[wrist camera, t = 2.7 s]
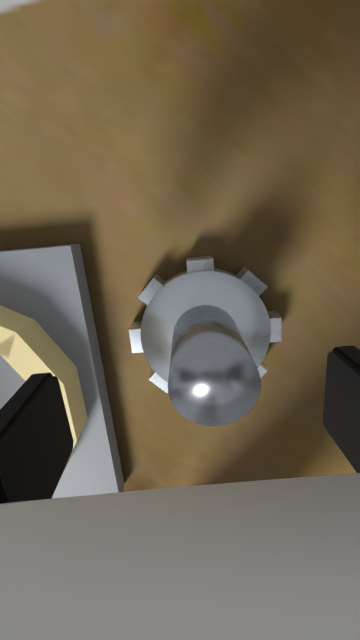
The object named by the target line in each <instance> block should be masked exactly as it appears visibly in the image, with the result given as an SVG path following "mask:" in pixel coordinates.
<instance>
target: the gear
mask: <svg viewBox="0 0 360 640" xmlns="http://www.w3.org/2000/svg"><path fill="white" fill-rule="evenodd" d="M186 262H187V270H185V271H182V272H180V273H177V274H175V275H174V276H172V277H170V278H169V279H167V280H166V281H165V280H163V279H162V278H161V277H160V276H159V275H157V274H156V275H155V276H154V277H153V278H152V279H151V281H150V282H149V283H148V284H147V286H146V287H145V288H144V289H143V291H142V292H141V293H140V295H139V297H138V298H139V299H140V300H141V301H142V302H144V303H145V304H146V305H147V308H146V310H145V313H144V315H143V318H142V321H138V322H133V323H132V325H131V327H130V329H129V334H130V341H131V347H132V353H138V352H144V355H145V357H146V359H147V361H148V363H149V364H150V366H151V367H152V368H151V372H150V377H149V380H150V381H151V382H153V383H154V384H155V385H157V386H158V387H160V388H161V389H162V390H164V391H165V392H166V393H169V397H170V400H171V402H172V404H173V406H174V407H175V408H176V410H177V411H178V412H179V413H180V414H181V415H182V416H184V417H185V418H187V419H188V420H190V421H192V422H194V423H197V424H201V425H206V426H220V425H225V424H229V423H232V422H234V421H236V420H238V419H240V418H242V417H243V416H244V415H246V414H247V413H248V412H249V411H250V410H251V409H252V407H253V406H254V405H255V403H256V401H257V399H258V397H259V394H260V389H261V379H260V378H261V377H262V376H263V375H264V374H265V373H266V372H267V371H268V370H267V368H266V367H265V365H264V363H263V359H264V357H265V355H266V353H267V350H268V347H269V343H270V342H281V317H280V316H279V315H278V314H277V313H276V312H275V311H267V310H266V307H265V305H264V304H263V302H262V300H261V299H260V297H259V296H260V295H261V294H262V293H263V292H264V290H265V289H266V288H267V286H266V285H265V284H264V283H263V282H262V281H261V280H259V279H258V278H257V277H256V276H255V275H254V274H253V273H252V272H250V271H249V270H248V269H247V268H246V267H244V266H243V267H242V268H241V270H240V271H239V272H238V273H237V274H236V275H234V274H233V273H231V272H228V271H225V270H222V269H218V268H214V259H213V257H212V256H201V257H189V258H186Z"/></svg>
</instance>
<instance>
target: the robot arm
mask: <svg viewBox="0 0 360 640" xmlns="http://www.w3.org/2000/svg"><path fill="white" fill-rule="evenodd" d="M323 421H324V425H325V428H326V429H327V431H328V432H329V434H330V435H331V437H332V438H333V439H334V441H335V442H336V444H337V445H338V447H339V448H340V449H341V451H342V452H343V454H344V455H345V456H346V458H347V459H348V461H349V462H350V464H351V465H352V466H353V468H354V469H355V471H356V472H357V473H350V474H337V475H324V476H310V477H297V478H284V479H272V480H259V481H246V482H234V483H222V484H210V485H198V486H186V487H175V488H163V489H151V490H140V491H129V492H118V493H107V494H96V495H85V496H74V497H63V498H52V497H53V494H54V492H55V490H56V487H57V485H58V483H59V481H60V478H61V476H62V474H63V471H64V469H65V467H66V464H67V462H68V460H69V457H70V455H71V453H72V450H73V437H72V433H71V429H70V425H69V421H68V417H67V413H66V408H65V404H64V400H63V396H62V392H61V388H60V384H59V380H58V378H57V377H56V376H53V375H52V374H51V373H50V372H49V373H37V374H32V375H31V376H30V377H29V378H28V379H27V380H26V381H25V382H24V384H23V385H22V386H21V387H20V388H19V389H18V390H17V391H16V393H15V394H14V395H13V396H12V397H11V398H10V399H9V400H8V402H7V403H6V404H5V405H4V406H3V407H2V408H1V409H0V640H360V350H359V349H358V348H356V347H355V346H342V347H335V348H334V349H333V351H332V352H329V354H328V359H327V373H326V386H325V400H324V414H323Z"/></svg>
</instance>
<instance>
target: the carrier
mask: <svg viewBox="0 0 360 640" xmlns="http://www.w3.org/2000/svg"><path fill="white" fill-rule="evenodd" d="M49 372H50V373H51V374H52V375H53V376H56V377H57V378H58V380H59V384H60V388H61V392H62V396H63V400H64V404H65V408H66V413H67V417H68V421H69V425H70V429H71V433H72V437H73V450H72V453H71V455H70V457H69V460H68V462H67V464H66V467H65V469H64V471H63V474H62V476H61V478H60V481H59V483H58V485H57V487H56V490H55V492H54V494H53V497H52V498H63V497H74V496H85V495H96V494H107V493H118V492H123V488H124V478H123V473H122V468H121V462H120V457H119V451H118V446H117V441H116V435H115V430H114V425H113V419H112V414H111V408H110V403H109V398H108V392H107V387H106V381H105V376H104V371H103V365H102V360H101V354H100V349H99V344H98V338H97V333H96V327H95V322H94V317H93V311H92V306H91V300H90V295H89V290H88V284H87V279H86V273H85V268H84V263H83V257H82V252H81V246H80V243H79V244H68V245H57V246H46V247H35V248H25V249H14V250H3V251H0V409H1V408H2V407H3V406H4V405H5V404H6V403H7V402H8V400H9V399H10V398H11V397H12V396H13V395H14V394H15V393H16V391H17V390H18V389H19V388H20V387H21V386H22V385H23V384H24V382H25V381H26V380H27V379H28V378H29V377H30V376H31V375H32V374H37V373H49Z"/></svg>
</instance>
